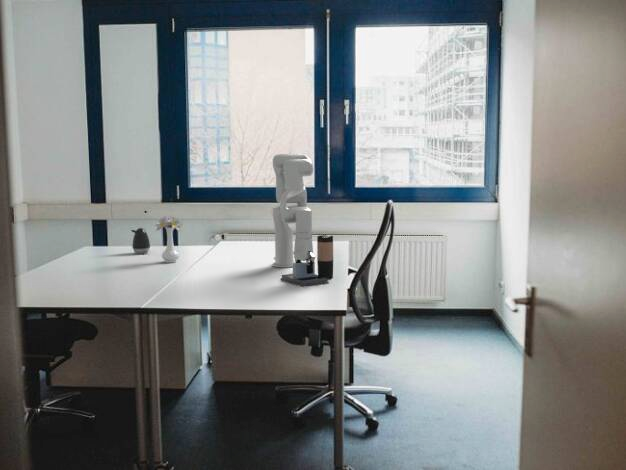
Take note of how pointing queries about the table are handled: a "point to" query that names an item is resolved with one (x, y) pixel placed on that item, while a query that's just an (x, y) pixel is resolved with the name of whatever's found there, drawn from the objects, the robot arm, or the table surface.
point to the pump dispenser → (140, 241)
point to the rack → (305, 280)
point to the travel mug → (325, 256)
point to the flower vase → (169, 237)
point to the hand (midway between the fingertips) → (304, 271)
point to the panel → (302, 270)
